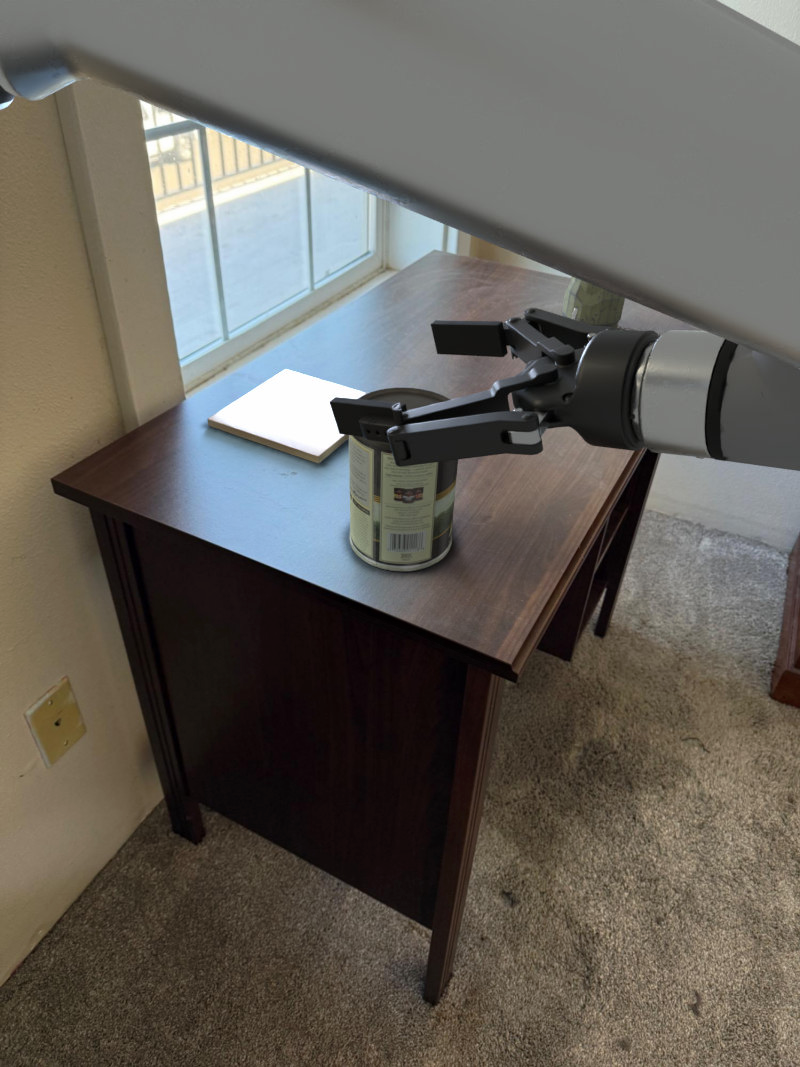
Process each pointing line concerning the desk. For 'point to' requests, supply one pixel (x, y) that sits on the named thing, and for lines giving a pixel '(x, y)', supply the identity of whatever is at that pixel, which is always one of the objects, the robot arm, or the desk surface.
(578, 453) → the desk surface
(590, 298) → the thermos
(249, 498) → the desk surface
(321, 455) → the cork mat
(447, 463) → the coffee can
